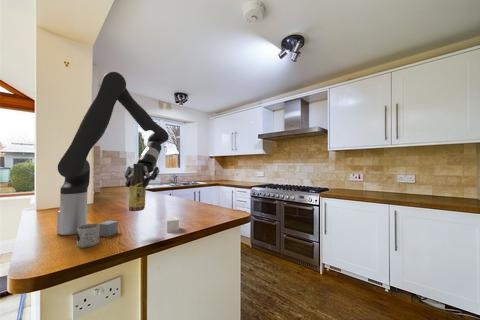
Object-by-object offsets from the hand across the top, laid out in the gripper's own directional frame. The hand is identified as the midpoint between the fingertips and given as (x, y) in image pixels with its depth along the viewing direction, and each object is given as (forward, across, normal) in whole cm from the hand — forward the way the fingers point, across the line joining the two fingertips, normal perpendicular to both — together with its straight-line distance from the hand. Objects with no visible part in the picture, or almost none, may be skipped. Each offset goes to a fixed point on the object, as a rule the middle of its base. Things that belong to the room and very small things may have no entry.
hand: (135, 186), depth 82 cm
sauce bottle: (+6, 0, +9) cm, 11 cm away
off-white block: (+9, +13, +20) cm, 26 cm away
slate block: (+13, -13, +17) cm, 25 cm away
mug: (+21, -13, +9) cm, 26 cm away
